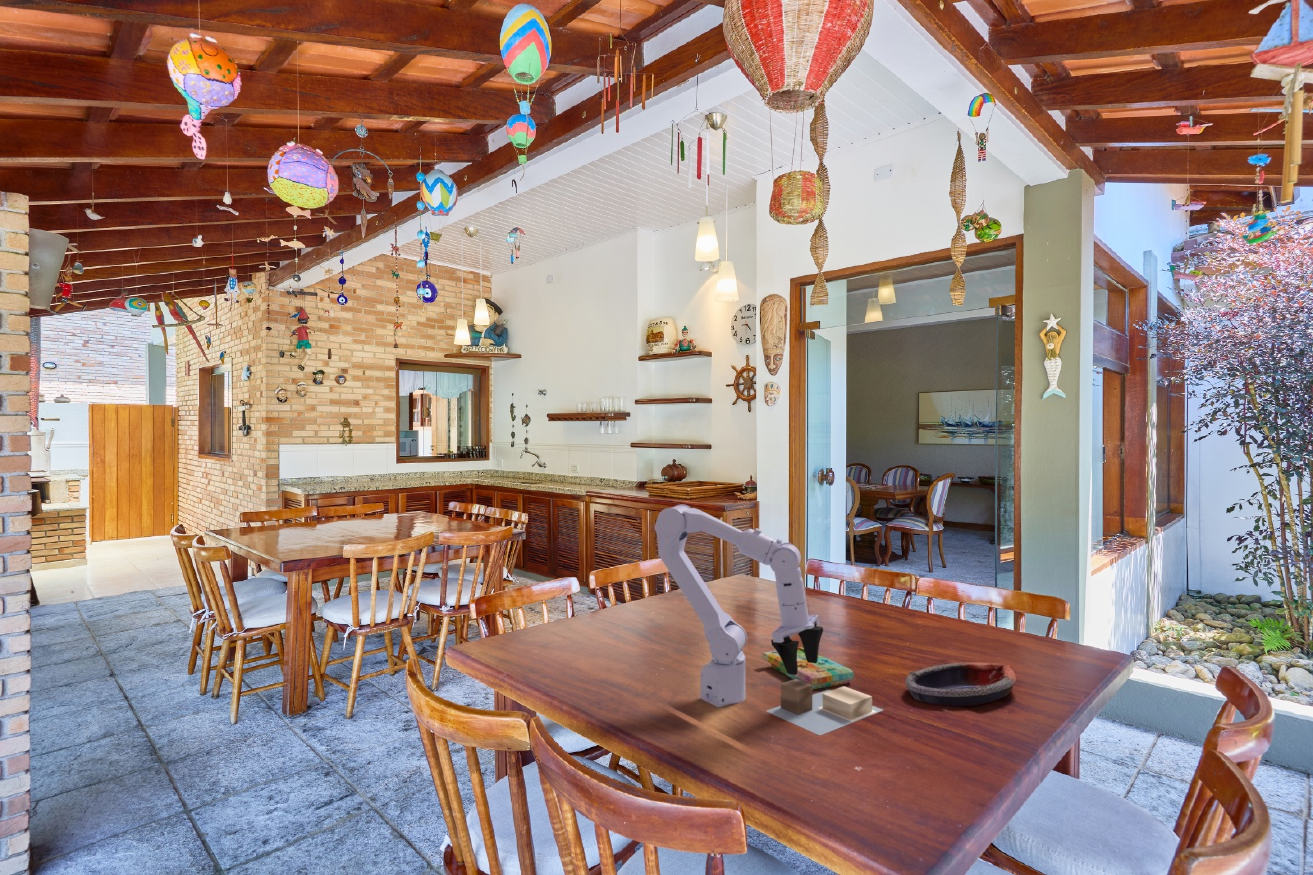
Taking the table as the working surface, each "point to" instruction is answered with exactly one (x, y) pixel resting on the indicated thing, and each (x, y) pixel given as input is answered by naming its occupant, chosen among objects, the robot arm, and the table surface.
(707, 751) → the table surface
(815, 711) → the board
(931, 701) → the dish
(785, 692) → the walnut block
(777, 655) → the puzzle game
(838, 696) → the maple block
